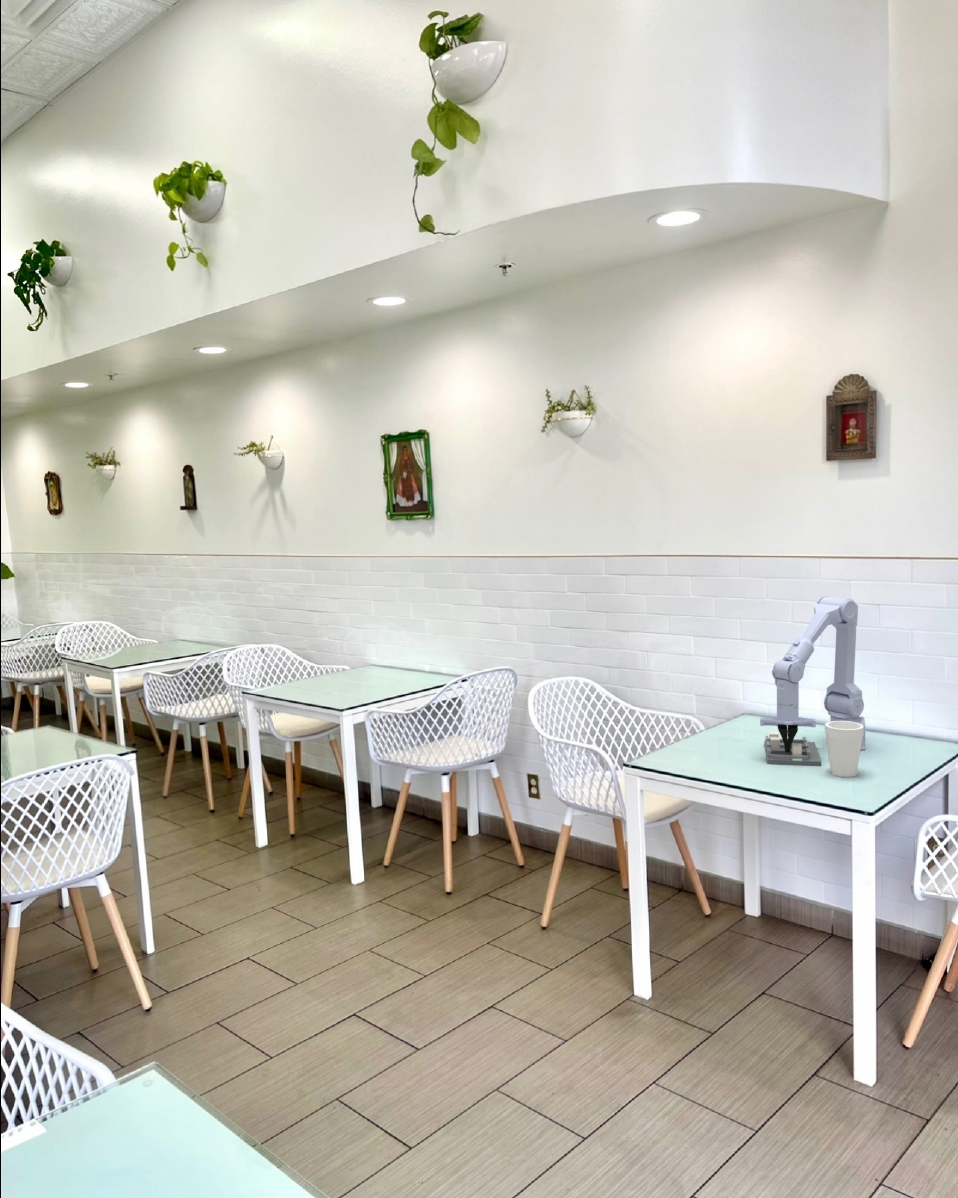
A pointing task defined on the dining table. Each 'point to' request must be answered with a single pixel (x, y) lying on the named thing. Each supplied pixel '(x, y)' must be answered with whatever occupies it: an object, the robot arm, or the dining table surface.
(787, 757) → the switch bank
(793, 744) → the tab
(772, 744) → the tab
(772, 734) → the tab
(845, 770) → the foam cup
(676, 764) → the dining table surface
